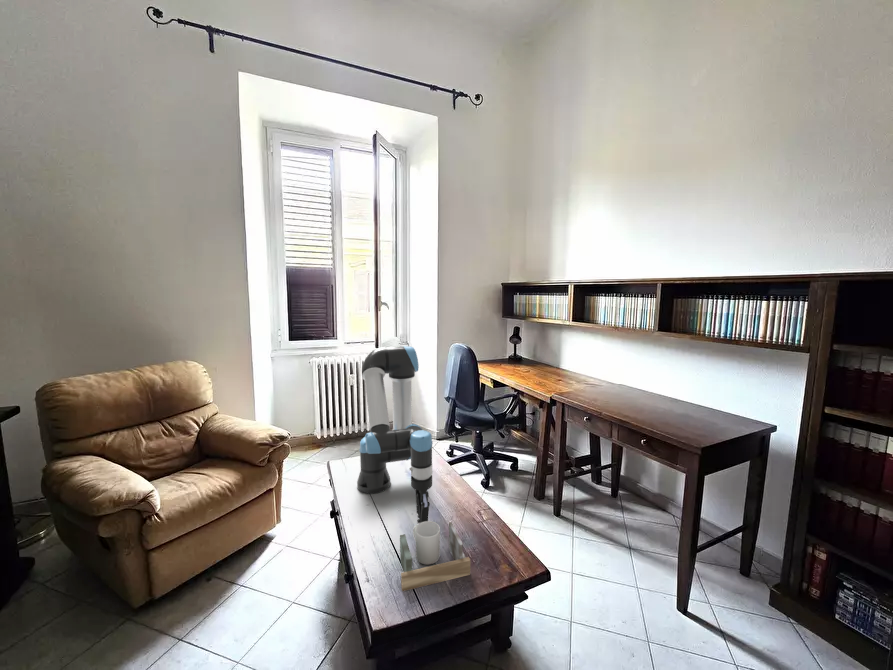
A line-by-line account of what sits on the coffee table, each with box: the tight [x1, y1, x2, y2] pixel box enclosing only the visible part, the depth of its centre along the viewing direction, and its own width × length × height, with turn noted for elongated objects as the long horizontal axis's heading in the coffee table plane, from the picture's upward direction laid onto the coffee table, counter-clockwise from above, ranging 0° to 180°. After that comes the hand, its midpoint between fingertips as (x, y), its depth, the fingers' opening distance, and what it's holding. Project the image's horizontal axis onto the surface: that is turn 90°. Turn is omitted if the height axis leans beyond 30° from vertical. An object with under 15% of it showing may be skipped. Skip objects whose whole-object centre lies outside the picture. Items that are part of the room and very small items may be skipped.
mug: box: [412, 520, 441, 566], centre depth 124 cm, size 12×8×10 cm
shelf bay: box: [399, 521, 471, 592], centre depth 118 cm, size 13×23×10 cm, turn 107°
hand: (422, 536), depth 131 cm, fingers closed
